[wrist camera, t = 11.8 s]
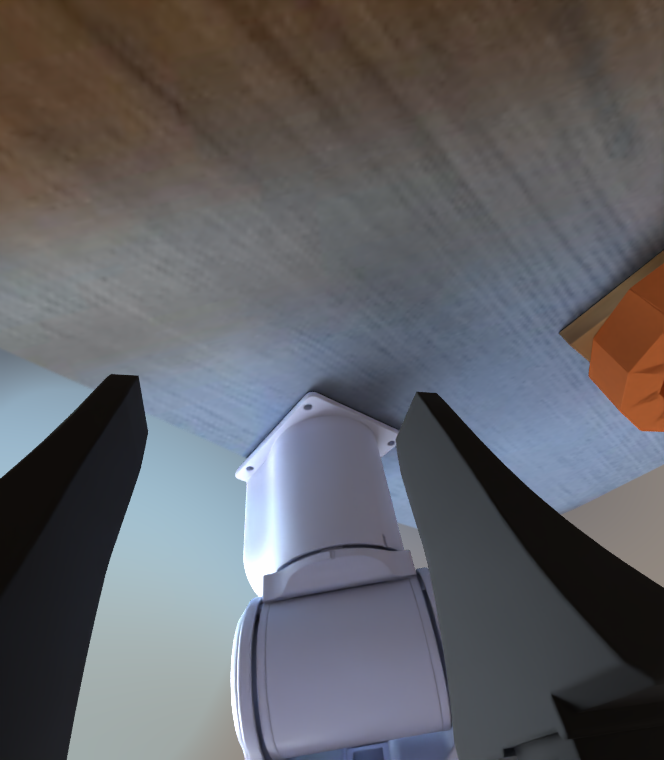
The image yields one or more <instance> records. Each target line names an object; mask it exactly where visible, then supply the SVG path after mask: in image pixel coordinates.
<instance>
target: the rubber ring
mask: <svg viewBox="0 0 664 760" xmlns="http://www.w3.org/2000/svg"><path fill="white" fill-rule="evenodd" d="M589 377H590V379H591V380H592V381H593V382H594V383H595V384H596V385H597V386H598V387H599V389H600V390H601V391H602V392H603V393H604V394H605V395H606V396H607V398H608V399H609V400H610V401H611V402H612V403H613V404H614V405H615V406H616V408H617V409H618V410H619V411H620V412H621V413H622V414H623V415H624V416H625V417H626V418H627V419H629V420H630V421H631V422H632V423H633V424H634V425H635V426H636V427H637V428H638V429H639V430H641V431H656V432H664V263H663V264H662V265H661V266H659V267H658V268H657V269H655V270H654V271H653V272H651V273H650V274H649V275H647V276H646V277H644V278H643V279H642V280H640V281H639V282H638V283H636V284H635V285H634V286H632V287H631V288H630V289H629V290H628V292H627V293H626V294H625V296H624V297H623V298H622V300H621V301H620V302H619V304H618V305H617V306H616V308H615V309H614V311H613V312H612V313H611V315H610V316H609V317H608V319H607V320H606V321H605V323H604V324H603V326H602V327H601V328H600V330H599V331H598V332H597V334H596V335H595V336H594V338H593V344H592V352H591V360H590V368H589Z"/></svg>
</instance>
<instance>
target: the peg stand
mask: <svg viewBox="0 0 664 760" xmlns="http://www.w3.org/2000/svg"><path fill="white" fill-rule="evenodd" d="M663 263H664V250H663V251H662V252H661V253H659V254H658V255H657V256H656V257H654V258H653V259H652V260H651V261H649V262H648V263H647V264H645V265H644V266H643V267H642V268H640V269H639V270H638V271H637V272H635V273H634V274H633V275H632V276H630V277H629V278H628V279H627V280H625V281H624V282H623V283H622V284H620V285H619V286H618V287H616V288H615V289H614V290H613V291H611V292H610V293H609V294H608V295H606V296H605V297H604V298H603V299H601V300H600V301H599V302H598V303H596V304H595V305H594V306H593V307H591V308H590V309H589V310H588V311H586V312H585V313H584V314H582V315H581V316H580V317H579V318H577V319H576V320H575V321H574V322H572V323H571V324H570V325H569V326H567V327H566V328H565V329H564V330H562V331H561V332H560V333H559V334H560V335H561V336H562V337H563V339H564V340H565V341H566V342H567V343H568V344H569V345H570V346H571V347H572V348H574V349H575V350H576V351H577V352H578V353H580V354H581V355H582V356H583V357H584V358H585V359H587V360H588V361H589V362H590V360H591V352H592V344H593V338H594V336H595V335H596V334H597V332H598V331H599V330H600V328H601V327H602V326H603V324H604V323H605V321H606V320H607V319H608V317H609V316H610V315H611V313H612V312H613V311H614V309H615V308H616V306H617V305H618V304H619V302H620V301H621V300H622V298H623V297H624V296H625V294H626V293H627V292H628V290H629V289H630V288H631V287H632V286H634V285H635V284H636V283H638V282H639V281H640V280H642V279H643V278H644V277H646V276H647V275H649V274H650V273H651V272H653V271H654V270H655V269H657V268H658V267H659V266H661V265H662V264H663Z"/></svg>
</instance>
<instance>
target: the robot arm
mask: <svg viewBox="0 0 664 760" xmlns="http://www.w3.org/2000/svg"><path fill="white" fill-rule="evenodd" d="M306 404H310V405H308V406H306ZM147 435H148V429H147V423H146V417H145V411H144V405H143V400H142V394H141V388H140V382H139V376H134V375H116V374H111V375H109V376H108V377H107V378H106V379H105V380H104V381H103V382H102V383H101V384H100V385H99V386H98V387H97V388H96V389H95V390H94V391H93V392H92V393H91V394H90V395H89V396H88V398H86V399H85V401H84V402H83V403H82V404H81V405H80V406H79V407H78V408H77V409H76V410H75V411H74V412H73V413H72V414H71V415H70V416H69V417H68V418H67V419H66V420H65V421H64V422H63V423H61V424H60V425H59V426H58V427H57V428H56V429H55V430H54V431H53V432H52V433H51V434H50V435H49V436H48V437H47V438H46V439H45V440H44V441H43V442H42V443H40V444H39V445H38V446H37V447H36V448H35V449H34V450H33V451H32V452H30V453H29V454H28V455H27V456H26V457H25V458H24V459H22V460H21V461H20V462H19V463H18V464H17V465H16V466H14V467H13V468H12V469H11V470H10V471H9V472H7V473H6V474H5V475H4V476H3V477H2V478H0V760H67V755H68V749H69V743H70V738H71V733H72V727H73V722H74V716H75V711H76V706H77V701H78V696H79V691H80V687H81V682H82V677H83V672H84V666H85V662H86V657H87V653H88V648H89V644H90V639H91V634H92V630H93V625H94V621H95V616H96V612H97V608H98V603H99V599H100V595H101V591H102V587H103V583H104V578H105V574H106V571H107V567H108V564H109V561H110V557H111V554H112V551H113V548H114V545H115V543H116V540H117V536H118V534H119V531H120V528H121V525H122V522H123V519H124V516H125V513H126V511H127V508H128V505H129V502H130V499H131V496H132V493H133V490H134V487H135V484H136V481H137V478H138V475H139V472H140V469H141V464H142V460H143V455H144V450H145V445H146V440H147ZM395 446H396V447H397V454H398V460H399V466H400V471H401V475H402V479H403V482H404V485H405V489H406V492H407V496H408V499H409V502H410V505H411V509H412V512H413V515H414V518H415V522H416V525H417V528H418V531H419V535H420V538H421V541H422V544H423V548H424V552H425V555H426V559H427V563H428V568H429V569H428V568H419V569H416V571H415V568H414V564H413V560H412V556H411V552H410V550H404V547H403V543H402V539H401V535H400V532H399V528H398V524H397V520H396V516H395V512H394V508H393V504H392V500H391V496H390V492H389V488H388V484H387V480H386V477H385V473H384V469H383V465H382V461H381V457H382V456H384V455H385V454H386V453H387V452H389V451H390V450H391V449H392V448H393V447H395ZM235 476H236V478H237V479H240V480H243V481H246V482H247V491H246V512H245V532H244V553H243V557H244V567H245V572H246V575H247V578H248V580H249V582H250V584H251V586H252V588H253V590H254V591H255V593H256V594H257V595H258V596H259V597H256V598H253V599H252V600H251V601H250V602H249V604H248V605H247V607H246V610H245V611H244V613H243V615H242V616H241V617H240V620H239V622H238V625H237V628H236V632H235V636H234V642H233V650H232V662H231V698H232V711H233V718H234V724H235V729H236V734H237V737H238V740H239V743H240V745H241V747H242V748H243V752H244V756H245V760H664V588H663V587H662V586H660V585H659V584H657V583H655V582H654V581H652V580H651V579H649V578H648V577H646V576H645V575H643V574H642V573H640V572H639V571H637V570H636V569H634V568H633V567H631V566H630V565H628V564H627V563H625V562H623V561H622V560H621V559H619V558H618V557H616V556H615V555H613V554H612V553H611V552H609V551H608V550H606V549H605V548H603V547H602V546H600V545H599V544H598V543H597V542H595V541H594V540H593V539H591V538H590V537H589V536H587V535H586V534H584V533H583V532H582V531H581V530H579V529H578V528H577V527H575V526H574V525H573V524H571V523H570V522H569V521H568V520H566V519H565V518H564V517H563V516H561V515H560V514H559V513H558V512H557V511H555V510H554V509H553V508H552V507H551V506H549V505H548V504H547V503H546V502H545V501H543V500H542V499H541V498H540V497H539V496H538V495H536V494H535V493H534V492H533V491H532V490H531V489H530V488H529V487H527V486H526V485H525V484H524V483H523V482H522V481H521V480H520V479H519V478H518V477H517V476H516V475H515V474H514V473H513V472H512V471H511V470H510V469H508V468H507V467H506V466H505V465H504V464H503V463H502V462H501V461H500V460H499V459H498V458H497V457H496V456H495V455H494V454H493V453H492V452H491V451H490V449H489V448H488V447H487V446H486V445H485V444H484V443H483V442H482V441H481V440H480V439H479V438H478V437H477V436H476V435H475V434H474V433H473V431H472V430H471V429H470V428H469V427H468V426H467V425H466V424H465V423H464V422H463V421H462V420H461V418H460V417H459V416H458V415H457V414H456V413H455V412H454V411H453V410H452V409H451V408H450V406H449V405H448V404H447V403H446V402H445V401H444V400H443V399H442V398H441V397H440V396H439V395H438V394H437V393H426V392H416V394H415V396H414V399H413V401H412V403H411V405H410V408H409V410H408V412H407V414H406V417H405V419H404V421H403V423H402V426H401V428H400V430H397V429H395V428H392V427H390V426H388V425H386V424H384V423H382V422H379V421H377V420H375V419H373V418H371V417H368V416H366V415H364V414H362V413H360V412H358V411H355V410H353V409H351V408H349V407H347V406H344V405H342V404H340V403H338V402H336V401H334V400H331V399H329V398H327V397H325V396H323V395H321V394H318V393H316V392H310V393H307V394H306V395H305V396H304V397H303V398H302V399H301V400H300V401H299V403H298V404H297V405H296V406H295V407H294V408H293V409H292V410H291V411H290V412H289V413H288V415H287V416H286V417H285V418H284V419H283V420H282V421H281V422H280V423H279V424H278V425H277V427H276V428H275V429H274V430H273V431H272V432H271V433H270V434H269V435H268V436H267V437H266V439H265V440H264V441H263V442H262V443H261V444H260V445H259V446H258V447H257V448H256V449H255V451H254V452H253V453H252V454H251V455H250V456H249V457H248V458H247V459H246V460H245V461H244V463H243V464H242V465H241V466H240V467H239V468H238V469H237V470H236V475H235Z"/></svg>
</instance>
